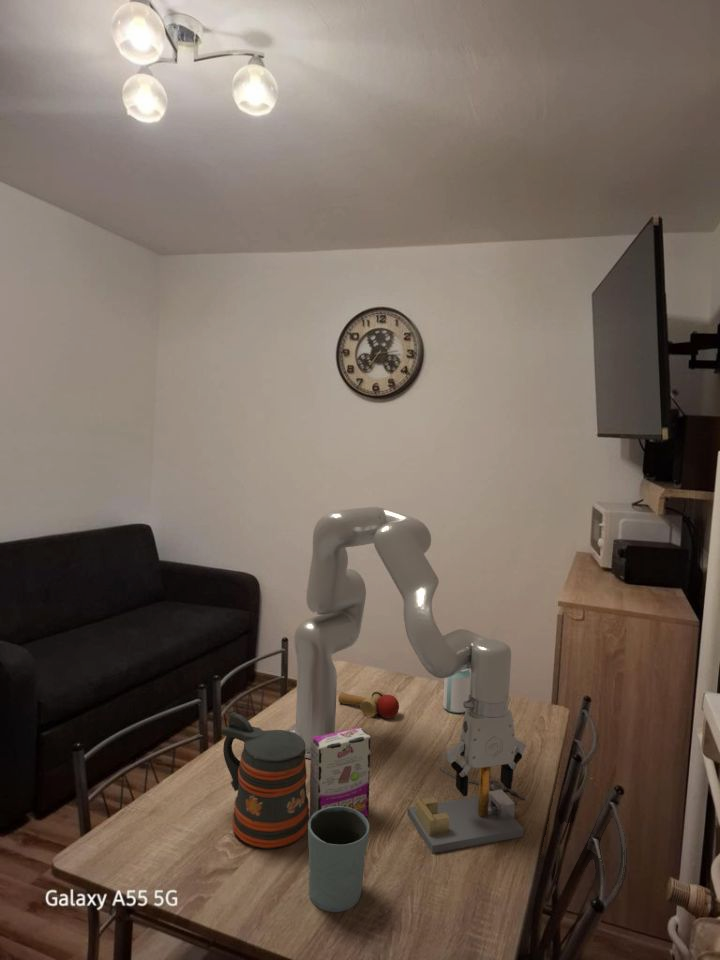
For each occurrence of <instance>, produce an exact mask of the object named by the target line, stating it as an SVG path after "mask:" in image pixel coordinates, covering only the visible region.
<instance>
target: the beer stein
mask: <svg viewBox="0 0 720 960" xmlns="http://www.w3.org/2000/svg"><path fill="white" fill-rule="evenodd" d="M221 735H222V736H225V739H224V742H223V749H222V750H223V757H224V761H225V764H226V767H227V769H228V772H229V774H230V777H231V779H232V780H231V781H230V785H231V787H232V788H233V790H234V792H237V794H236V796H235V797H236V798H235V800H234V809H233V819H232V830H233V832H234V834H235V835H236V836H237V837H238V838H239V839H240V840H241V841H242V842H243V843H246V844H247V845H250V846H252V847H255V848H258V847H259V849H277V847H278V848H282V847H286V846H288V845H291V844H294V843H295V842H297V841H298V840H300V839H301V838H302V837H303V836H304V835H305V834H306V832H308V822H309V819H310V802H309V798H308V794H307V783H306V780H307V777H308V775H307V765H306V758H305V754H306V749H305V742H304V740H303V739H302V738H301V737H300V736H299V735H297V734H295V733H293V732H290V731H289V730H284V729H283V730H282V729H268V730H263V729H261V728H260V727H257V726H256V727H255V726H252V724H251V723H250V722H249V720H248V719H247V718H246V717H245V716H243V715H241V714H239V713H237V712H236V711H232V712H231V713H230V714H229V718H228V725H227V726H225V727H223V728H222V729H221ZM235 739H236V740H238V741H240V742H241V741H242V742H243V743H244V744H243V750H242V752H241V753H240V760H239V758H237V757H236V755H235V753H234V751H233V743H234V741H235Z"/></svg>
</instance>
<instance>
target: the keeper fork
mask: <svg viewBox="0 0 720 960" xmlns="http://www.w3.org/2000/svg"><path fill="white" fill-rule="evenodd" d="M438 803H439V801H438V800H437V799H436V797H435V796H434V797H429V798H428V797H427V798H422V799H416V800H415V806H416V810H415V815H416V817H417V818H418V820H419V821H420V823H421V824H422V826H423V827H424V829H425V831H426V832H427V834H428V835H429V836H433V835H439V834H444V833H449V818H450V817H449V816H448V815H447V813H440V814H437V813H438Z"/></svg>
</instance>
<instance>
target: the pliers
mask: <svg viewBox="0 0 720 960" xmlns="http://www.w3.org/2000/svg"><path fill="white" fill-rule="evenodd" d="M439 770H440V771H441V772H443V773H444V774H445V775H448V776H449V777H451V778H453V779H455V780H456V774H454V773H450V772H449V771H447V770H446V769H445V768H444V767H442V766H440V767H439ZM468 784H473V785H477V786H479V780H475V779H469V778H468ZM495 790H503V792H504V793H505V794H506V793H509V795H511V796H514V797H516V798H518V799H520V800H521V801H524V802H525V801H526V797H524V796H523V795H522V794H520V793H519V792H517V791H516V790H514V789H512V788H511V789H507V788H506V787H505V786H504V785H503V784H502V783H501V782H499V781H497V780H495V779H494V778H493V777H492V776H491V775H490V786H489V791H495ZM506 795H507V796H508V797H509V798H510V799H511V800H512V801H513V802H514V803H515V805H516V806H517V805H518V801H516V800H515V799H513V798H512V797H510V796H509V795H508V794H506Z"/></svg>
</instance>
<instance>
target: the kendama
mask: <svg viewBox="0 0 720 960" xmlns="http://www.w3.org/2000/svg"><path fill="white" fill-rule="evenodd" d="M338 703H339V704H340V703H342V704H341V705H344V704H345V705H354V706H360V710H361V713H362V714H363V715H364V716H365V715H366V716H365V717H367V716H370V717H369V718H373V717H375V716H376V715H377V714H379V715H380V716H381V717H382V718H385V719H391V718H394V717H396V716H397V715H398V713H399V709H400V704H399V700H398V698H396V696H394V695H392V694H385V693H384V692H383V691H382V690H375V691H374V692H373V693H372V694H371V699H369V698H366V697H362V696H358V695H354V694H349V693H345V692H340V693H339V695H338Z"/></svg>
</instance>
